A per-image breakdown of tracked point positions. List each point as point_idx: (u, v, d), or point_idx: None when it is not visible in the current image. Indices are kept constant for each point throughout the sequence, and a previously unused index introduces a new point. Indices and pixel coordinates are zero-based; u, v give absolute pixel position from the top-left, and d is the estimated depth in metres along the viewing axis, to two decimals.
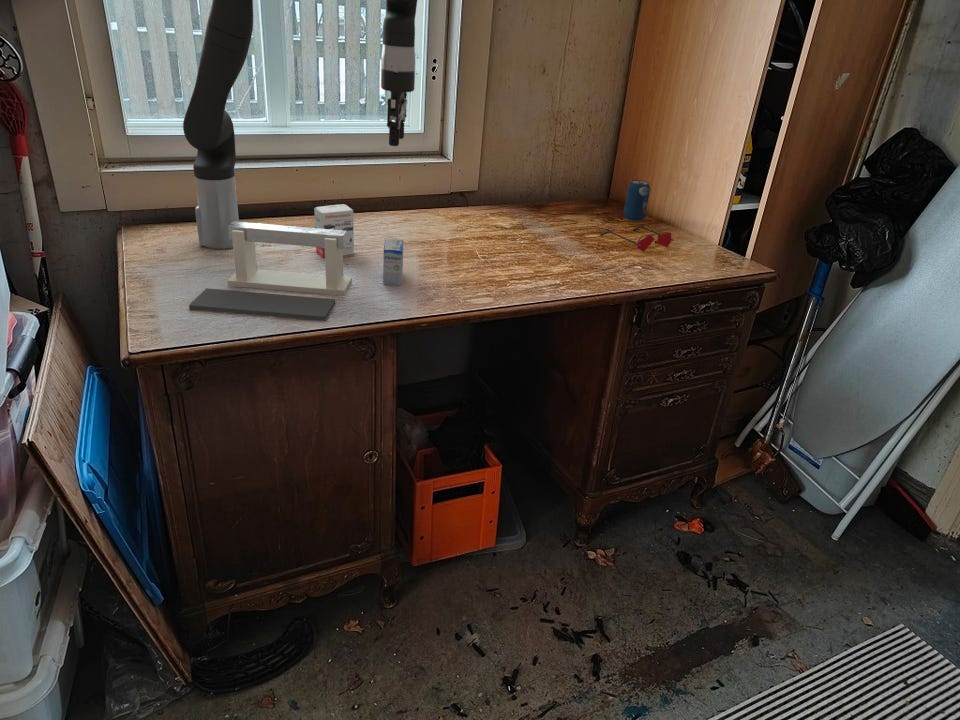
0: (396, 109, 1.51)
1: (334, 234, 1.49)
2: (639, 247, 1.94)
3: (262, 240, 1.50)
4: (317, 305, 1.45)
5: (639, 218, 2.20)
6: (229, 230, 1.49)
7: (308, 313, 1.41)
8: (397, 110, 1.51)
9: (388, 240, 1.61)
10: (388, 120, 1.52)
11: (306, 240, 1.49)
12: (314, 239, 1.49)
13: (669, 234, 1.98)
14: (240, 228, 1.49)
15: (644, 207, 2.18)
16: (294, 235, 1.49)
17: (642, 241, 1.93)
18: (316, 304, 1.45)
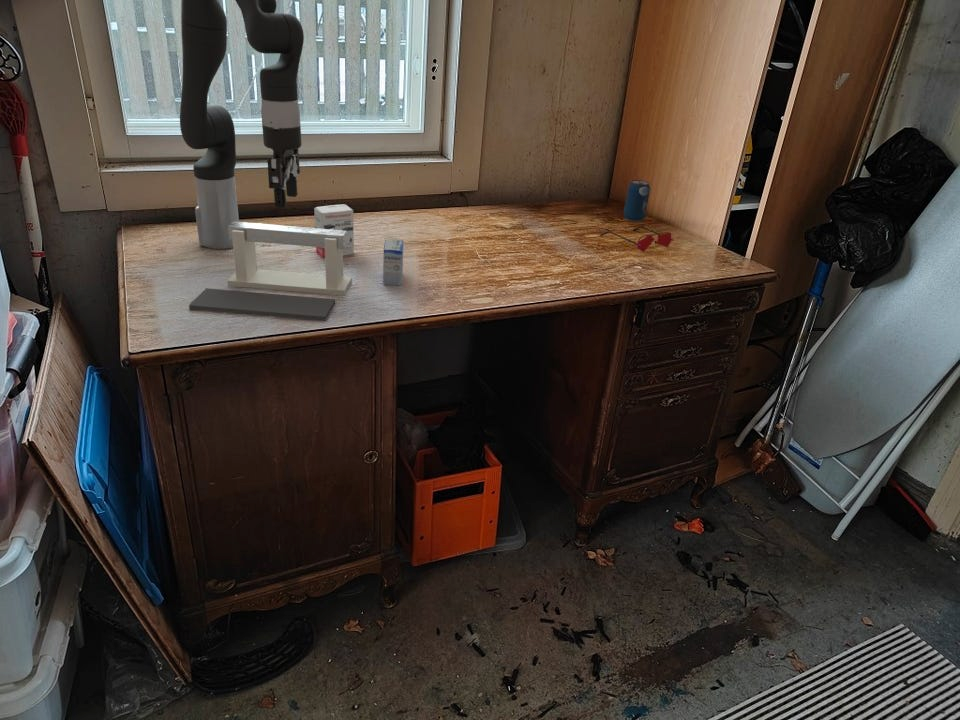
0: (277, 169, 1.37)
1: (334, 234, 1.49)
2: (639, 247, 1.94)
3: (262, 240, 1.50)
4: (317, 305, 1.45)
5: (639, 218, 2.20)
6: (229, 230, 1.49)
7: (308, 313, 1.41)
8: (279, 170, 1.37)
9: (388, 240, 1.61)
10: (270, 181, 1.38)
11: (306, 240, 1.49)
12: (314, 239, 1.49)
13: (669, 234, 1.98)
14: (240, 228, 1.49)
15: (644, 207, 2.18)
16: (294, 235, 1.49)
17: (642, 241, 1.93)
18: (316, 304, 1.45)
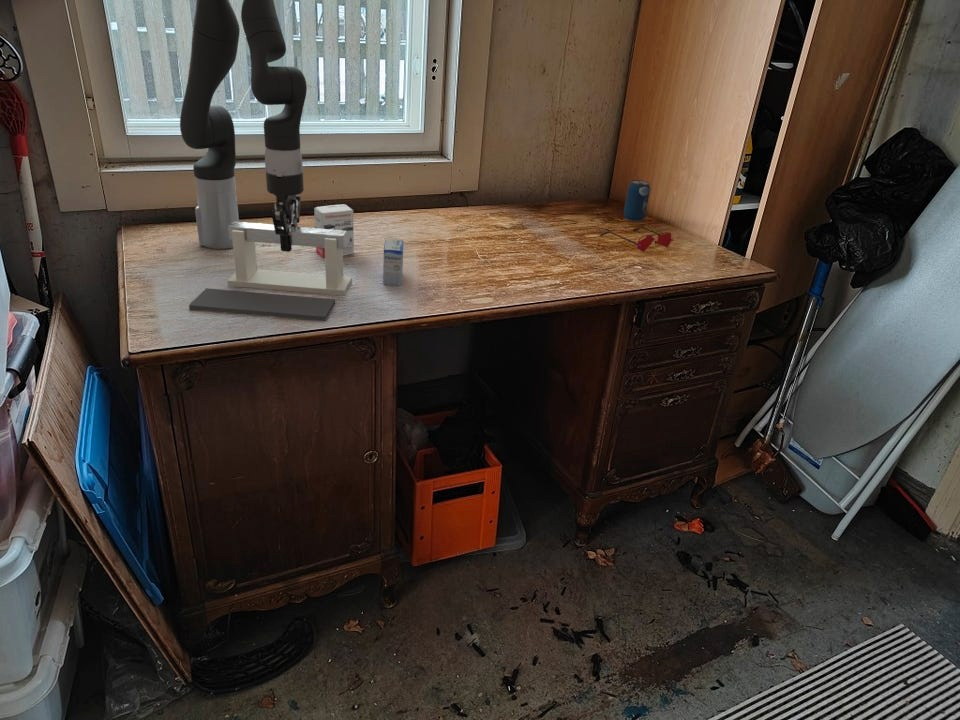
0: (282, 221, 1.43)
1: (334, 234, 1.49)
2: (639, 247, 1.94)
3: (262, 240, 1.50)
4: (317, 305, 1.45)
5: (639, 218, 2.20)
6: (229, 230, 1.49)
7: (308, 313, 1.41)
8: (283, 222, 1.43)
9: (388, 240, 1.61)
10: (276, 229, 1.45)
11: (306, 240, 1.49)
12: (314, 239, 1.49)
13: (669, 234, 1.98)
14: (240, 228, 1.48)
15: (644, 207, 2.18)
16: (294, 235, 1.49)
17: (642, 241, 1.93)
18: (316, 304, 1.45)
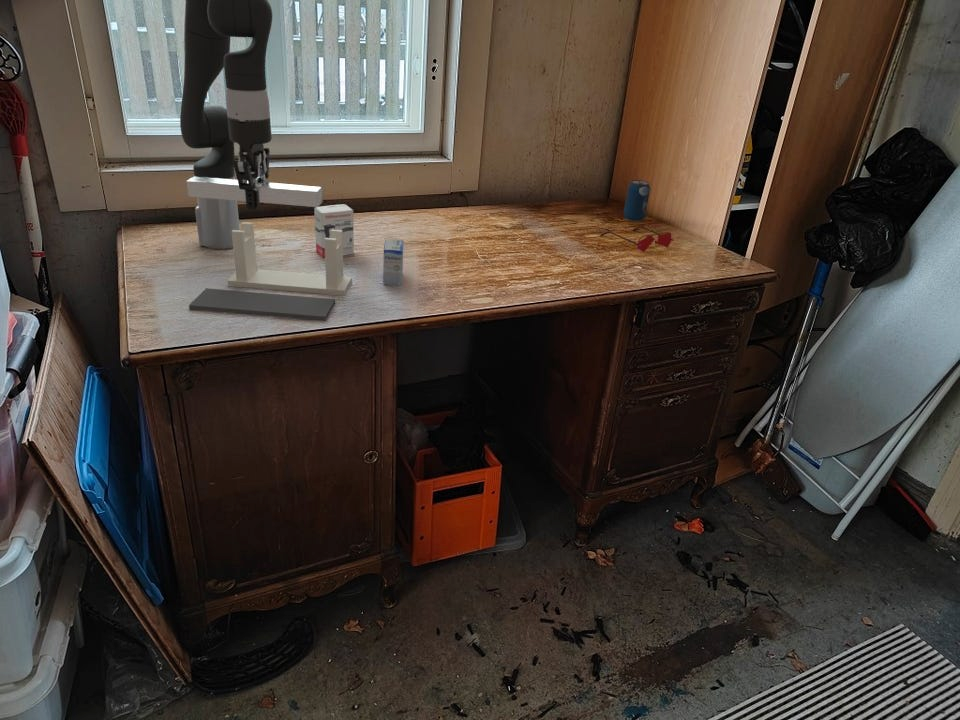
0: (246, 173, 1.25)
1: (307, 190, 1.31)
2: (639, 247, 1.94)
3: (226, 197, 1.32)
4: (317, 305, 1.45)
5: (639, 218, 2.20)
6: (188, 185, 1.31)
7: (308, 313, 1.41)
8: (247, 174, 1.26)
9: (388, 240, 1.61)
10: (239, 183, 1.27)
11: (276, 196, 1.32)
12: (284, 196, 1.32)
13: (669, 234, 1.98)
14: (200, 183, 1.31)
15: (644, 207, 2.18)
16: (261, 191, 1.31)
17: (642, 241, 1.93)
18: (316, 304, 1.45)
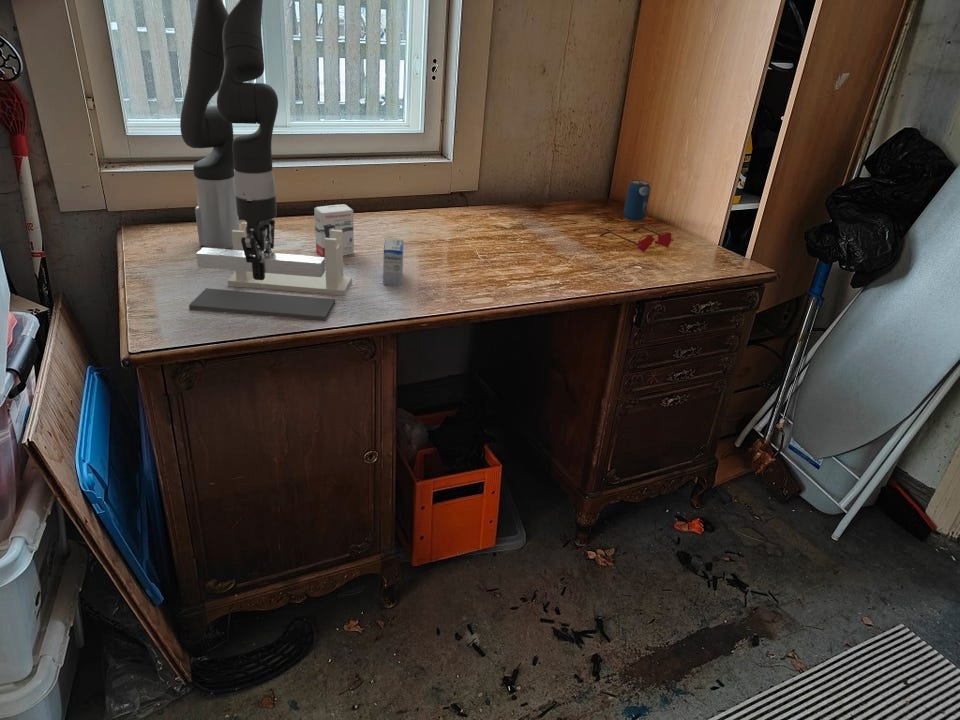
0: (253, 249, 1.32)
1: (311, 261, 1.38)
2: (639, 247, 1.94)
3: (233, 268, 1.39)
4: (317, 305, 1.45)
5: (639, 218, 2.20)
6: (198, 257, 1.38)
7: (308, 313, 1.41)
8: (254, 249, 1.33)
9: (388, 240, 1.61)
10: (247, 257, 1.34)
11: (281, 268, 1.39)
12: (289, 267, 1.38)
13: (669, 234, 1.98)
14: (209, 255, 1.38)
15: (644, 207, 2.18)
16: (267, 262, 1.38)
17: (642, 241, 1.93)
18: (316, 304, 1.45)
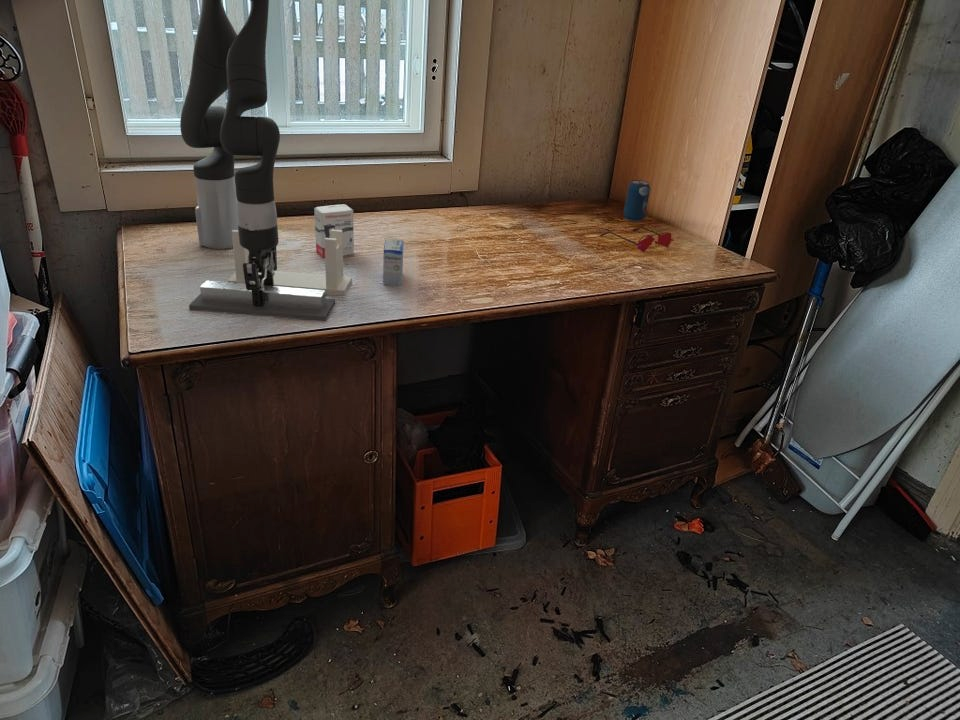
0: (253, 274, 1.34)
1: (312, 295, 1.42)
2: (639, 247, 1.94)
3: (236, 301, 1.43)
4: None
5: (639, 218, 2.20)
6: (201, 291, 1.42)
7: (308, 313, 1.41)
8: (255, 275, 1.34)
9: (388, 240, 1.61)
10: (247, 284, 1.36)
11: (282, 301, 1.42)
12: (290, 300, 1.42)
13: (669, 234, 1.98)
14: (213, 289, 1.41)
15: (644, 207, 2.18)
16: (269, 296, 1.42)
17: (642, 241, 1.93)
18: None
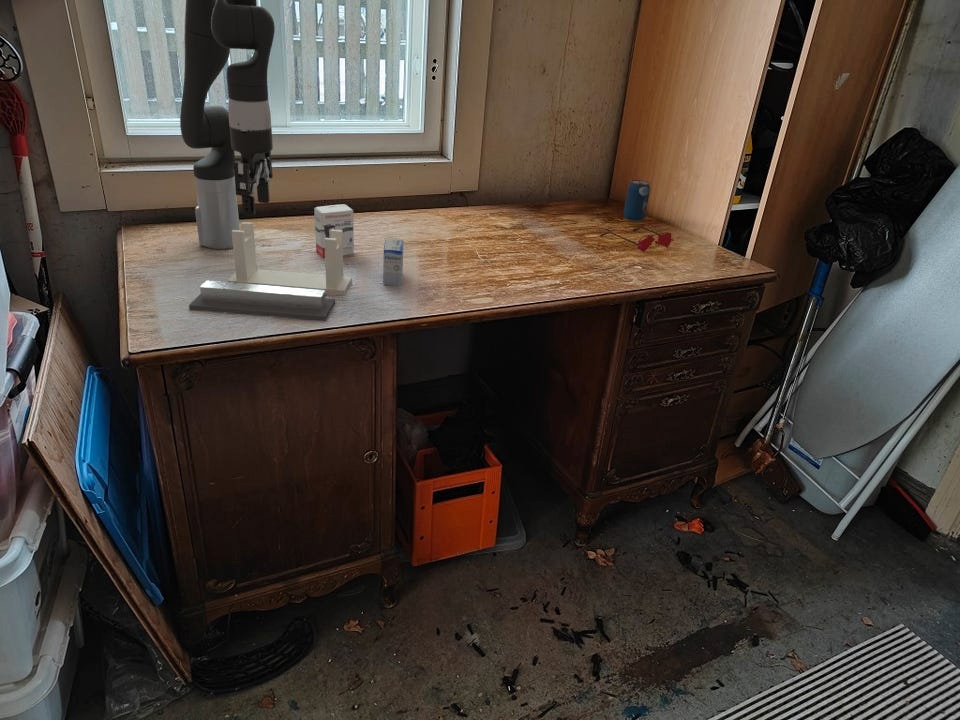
0: (245, 175, 1.27)
1: (312, 295, 1.42)
2: (640, 247, 1.94)
3: (236, 301, 1.43)
4: None
5: (639, 218, 2.20)
6: (201, 291, 1.42)
7: (308, 313, 1.41)
8: (246, 176, 1.27)
9: (388, 240, 1.61)
10: (236, 187, 1.28)
11: (282, 301, 1.42)
12: (290, 300, 1.42)
13: (669, 234, 1.98)
14: (213, 289, 1.41)
15: (644, 207, 2.18)
16: (269, 296, 1.42)
17: (643, 241, 1.93)
18: None
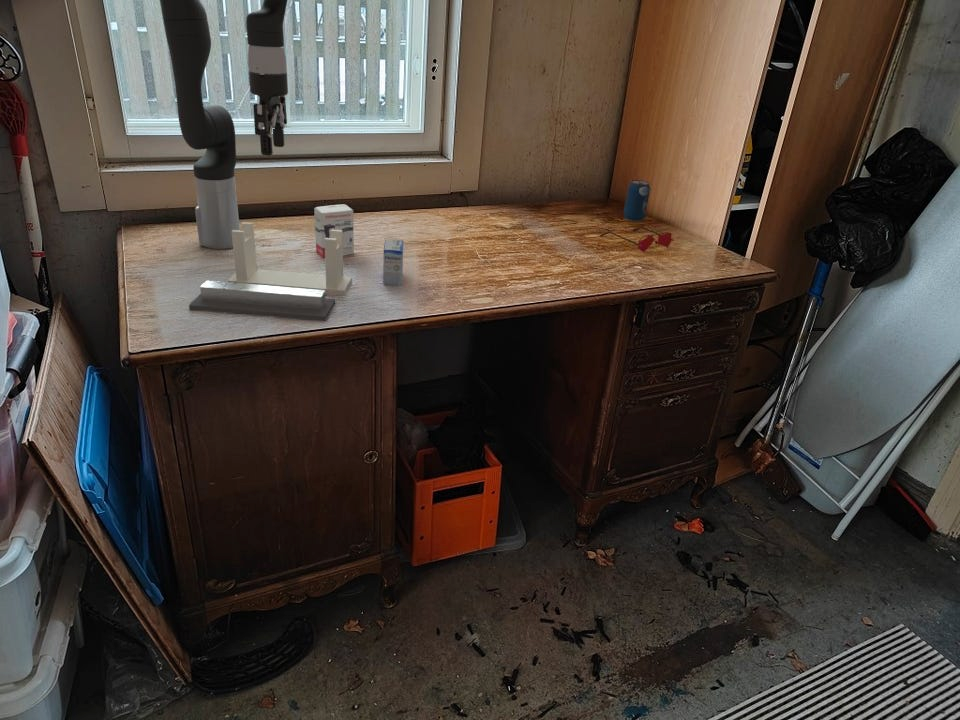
0: (263, 115, 1.38)
1: (312, 295, 1.42)
2: (640, 247, 1.94)
3: (236, 301, 1.43)
4: None
5: (639, 218, 2.20)
6: (201, 291, 1.42)
7: (308, 313, 1.41)
8: (264, 116, 1.38)
9: (388, 240, 1.61)
10: (256, 127, 1.39)
11: (282, 301, 1.42)
12: (290, 300, 1.42)
13: (669, 234, 1.98)
14: (213, 289, 1.41)
15: (644, 207, 2.18)
16: (269, 296, 1.42)
17: (643, 241, 1.93)
18: None
